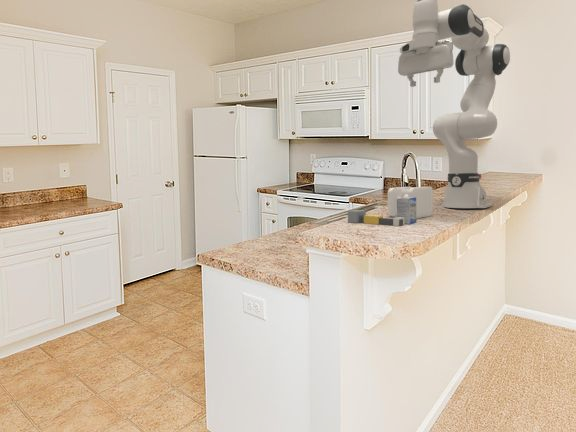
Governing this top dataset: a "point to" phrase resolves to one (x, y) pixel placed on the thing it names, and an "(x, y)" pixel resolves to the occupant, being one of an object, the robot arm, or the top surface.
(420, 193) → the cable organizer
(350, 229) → the top surface
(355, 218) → the grey block
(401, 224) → the yellow and black bar
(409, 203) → the medicine box
